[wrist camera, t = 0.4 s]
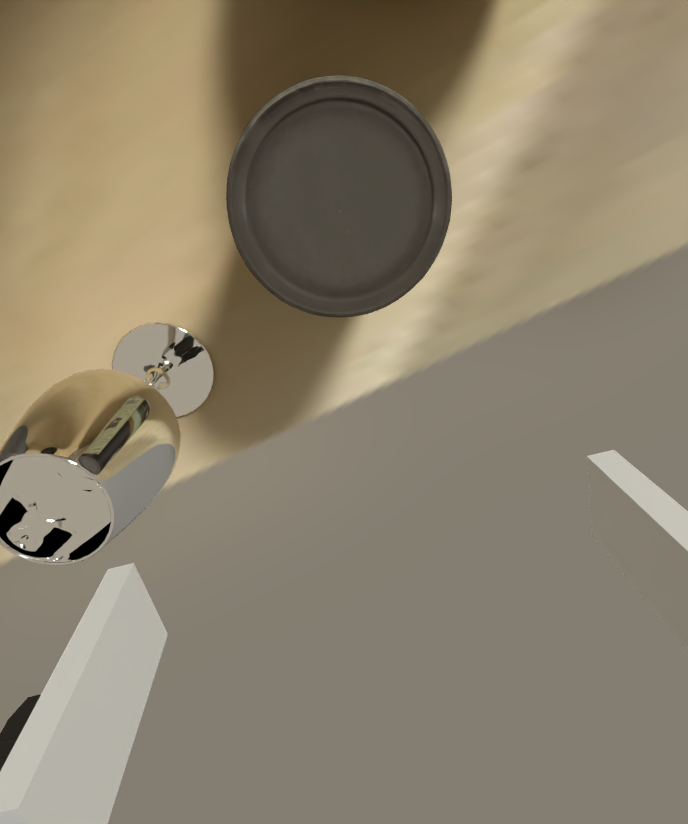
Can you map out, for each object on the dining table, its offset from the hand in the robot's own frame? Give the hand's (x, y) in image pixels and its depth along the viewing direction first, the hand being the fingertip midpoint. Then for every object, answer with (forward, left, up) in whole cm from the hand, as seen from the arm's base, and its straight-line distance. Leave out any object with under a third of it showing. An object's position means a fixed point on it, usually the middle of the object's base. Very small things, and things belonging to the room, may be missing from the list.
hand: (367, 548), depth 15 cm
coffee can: (-9, +2, -28) cm, 29 cm away
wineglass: (0, -13, -28) cm, 31 cm away
